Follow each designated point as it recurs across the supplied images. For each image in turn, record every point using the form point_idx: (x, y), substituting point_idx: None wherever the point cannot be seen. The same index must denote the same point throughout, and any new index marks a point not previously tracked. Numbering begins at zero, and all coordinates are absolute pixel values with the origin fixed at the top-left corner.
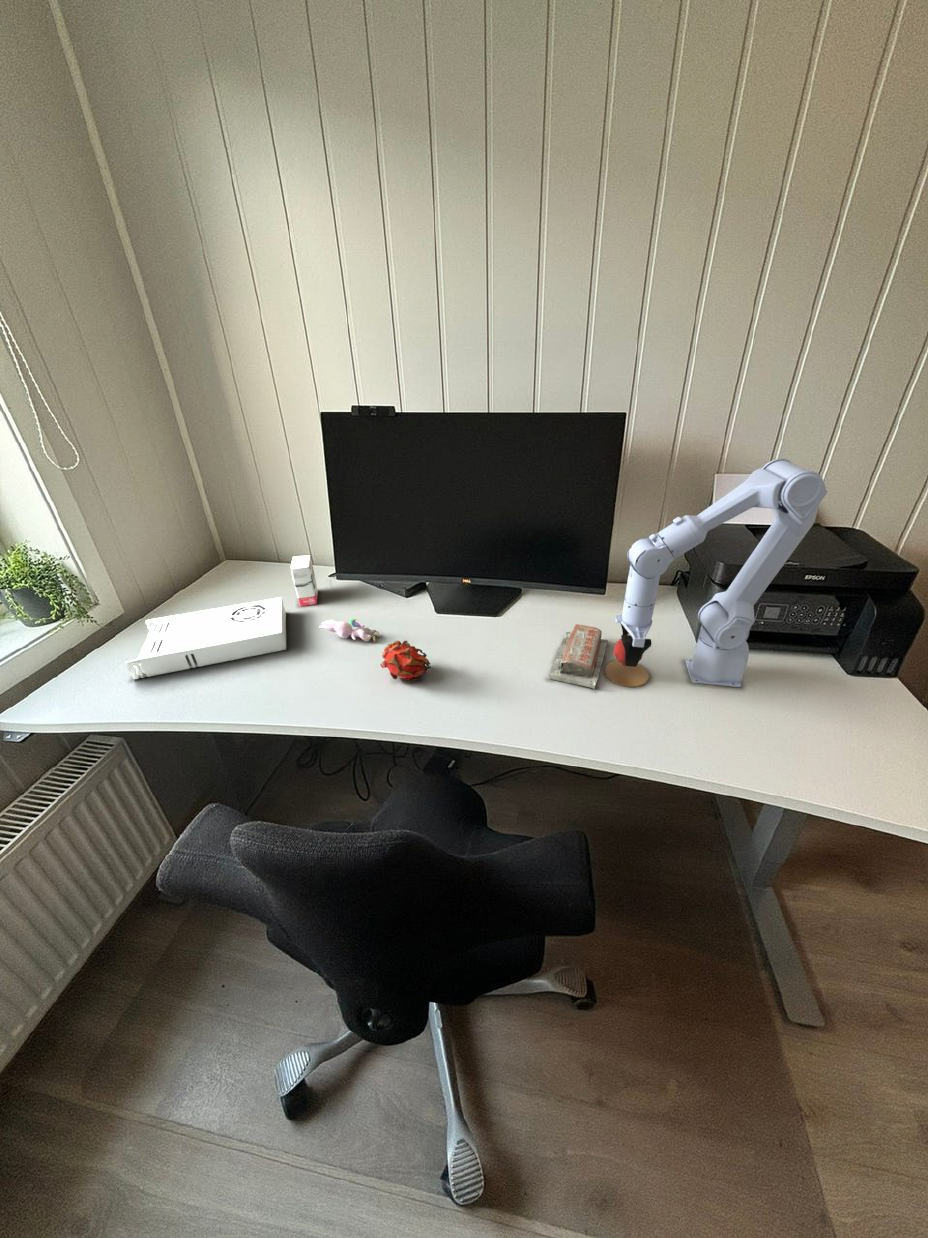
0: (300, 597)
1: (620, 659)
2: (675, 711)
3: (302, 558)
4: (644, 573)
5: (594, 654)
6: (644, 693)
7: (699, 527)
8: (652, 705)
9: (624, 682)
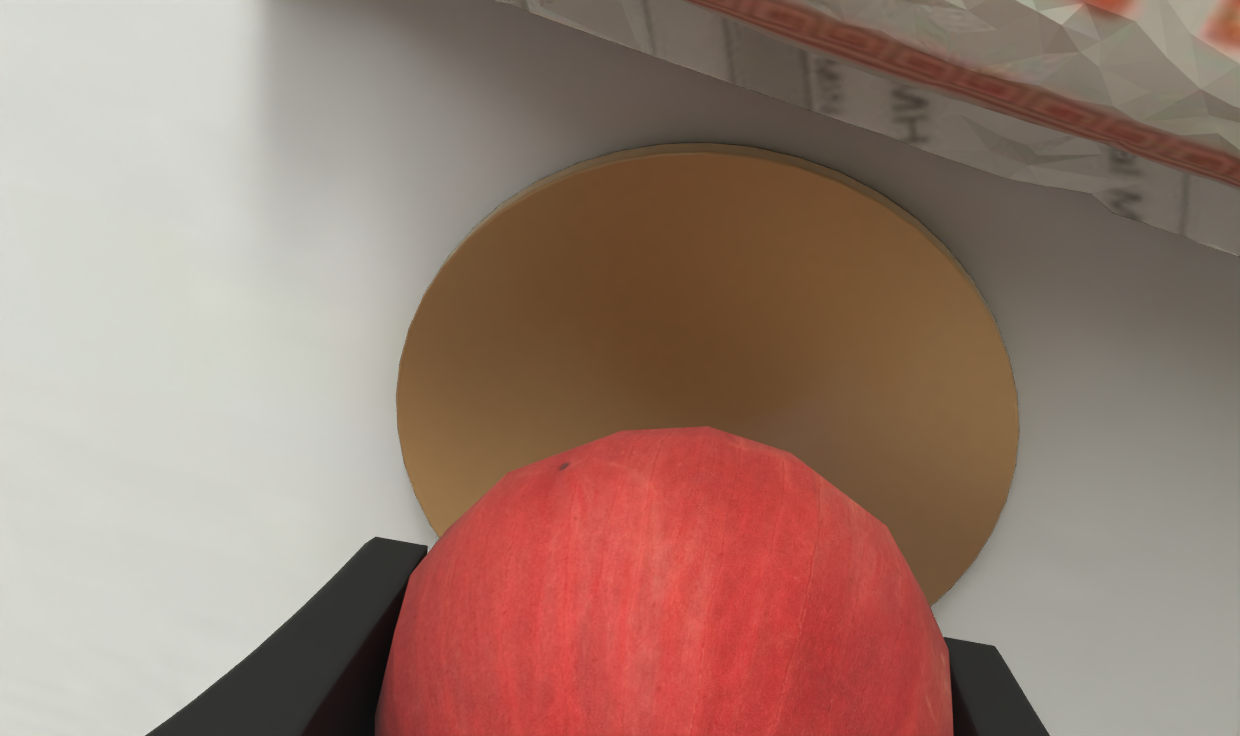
0: None
1: (473, 509)
2: (82, 711)
3: None
4: None
5: (850, 24)
6: (314, 530)
7: None
8: (115, 549)
9: (464, 368)
